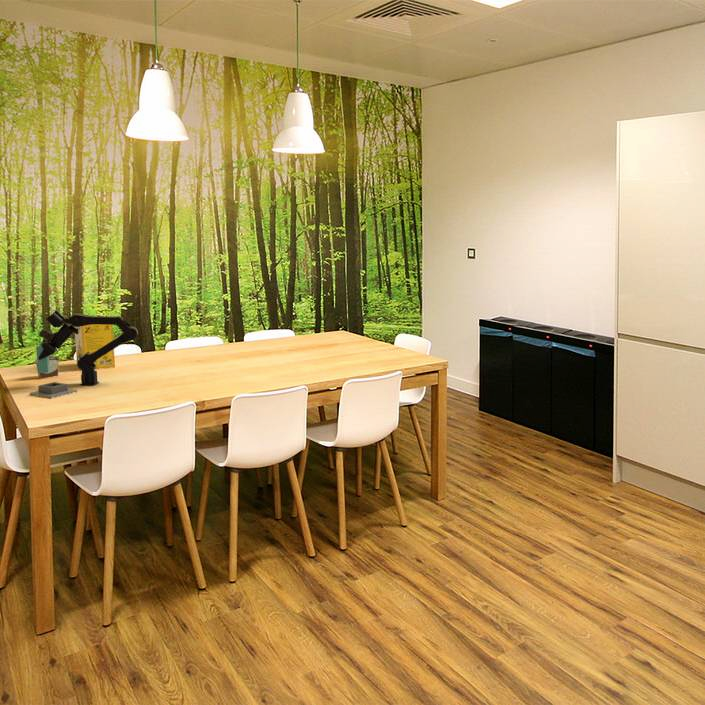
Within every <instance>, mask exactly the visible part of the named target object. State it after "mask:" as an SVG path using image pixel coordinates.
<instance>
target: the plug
mask: <svg viewBox="0 0 705 705" xmlns="http://www.w3.org/2000/svg"><path fill="white" fill-rule="evenodd" d="M43 344H44V342H40V344H39V345H37V346H35V351H36V358H37V365H38V371H37V374H38V373H48V372H49V371H50V364H49V356H48V357H45V358H43V359H41V360H39V359H38V358H39V356H40V354H41V353H42V351H43V347H42V345H43ZM37 365H36V366H37Z"/></svg>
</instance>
